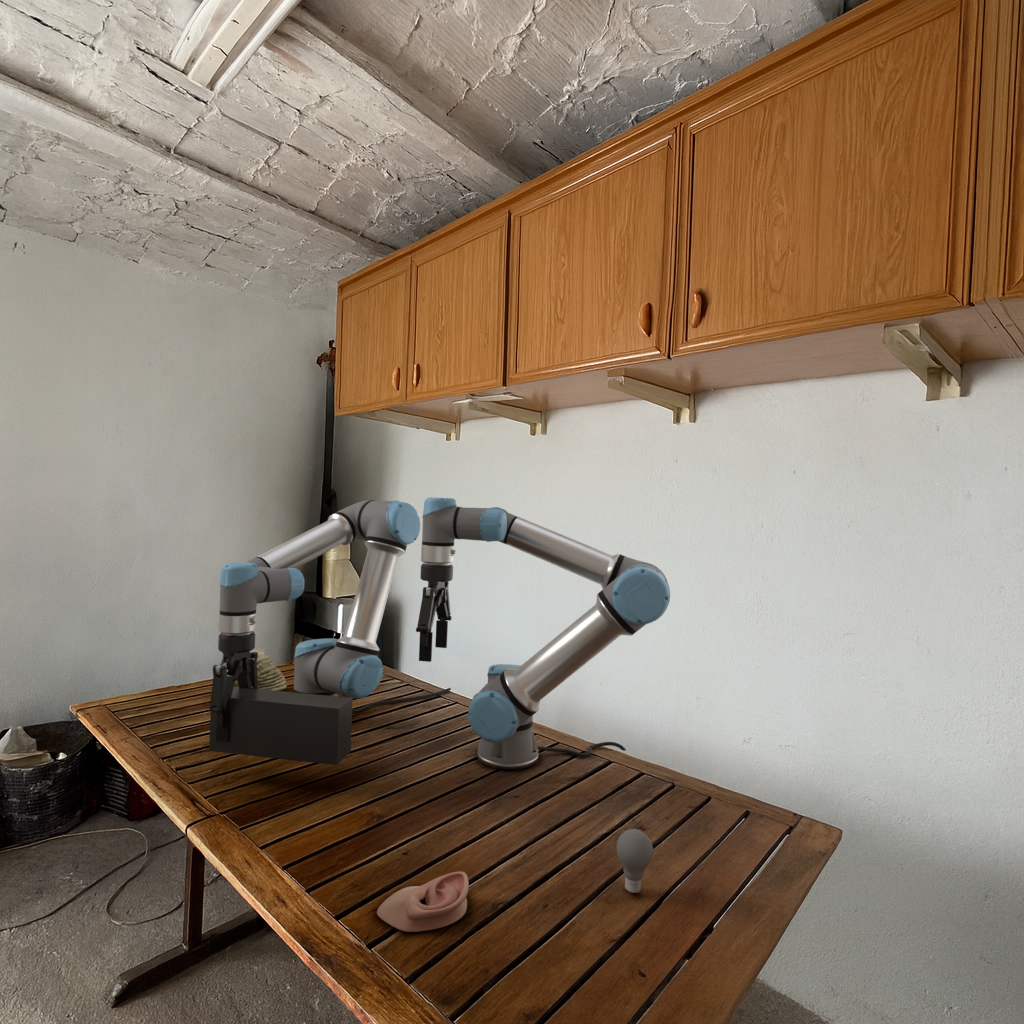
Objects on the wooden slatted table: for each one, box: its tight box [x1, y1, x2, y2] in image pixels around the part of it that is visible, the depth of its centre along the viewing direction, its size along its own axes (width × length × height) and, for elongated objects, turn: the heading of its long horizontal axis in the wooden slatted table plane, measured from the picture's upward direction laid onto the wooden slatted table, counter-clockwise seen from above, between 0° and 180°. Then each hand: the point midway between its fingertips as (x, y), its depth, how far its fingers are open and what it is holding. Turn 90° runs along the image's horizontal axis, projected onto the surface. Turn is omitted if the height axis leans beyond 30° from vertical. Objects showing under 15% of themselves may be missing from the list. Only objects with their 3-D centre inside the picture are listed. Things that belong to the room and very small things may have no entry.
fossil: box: [227, 647, 288, 692], centre depth 198 cm, size 9×18×15 cm, turn 132°
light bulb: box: [615, 828, 654, 894], centre depth 106 cm, size 6×6×10 cm
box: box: [208, 687, 354, 766], centre depth 140 cm, size 30×7×12 cm, turn 81°
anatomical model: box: [376, 871, 470, 933], centre depth 99 cm, size 13×4×12 cm
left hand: (233, 734), depth 141 cm, fingers closed on box, 7 cm apart
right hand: (433, 654), depth 148 cm, fingers open, 13 cm apart
